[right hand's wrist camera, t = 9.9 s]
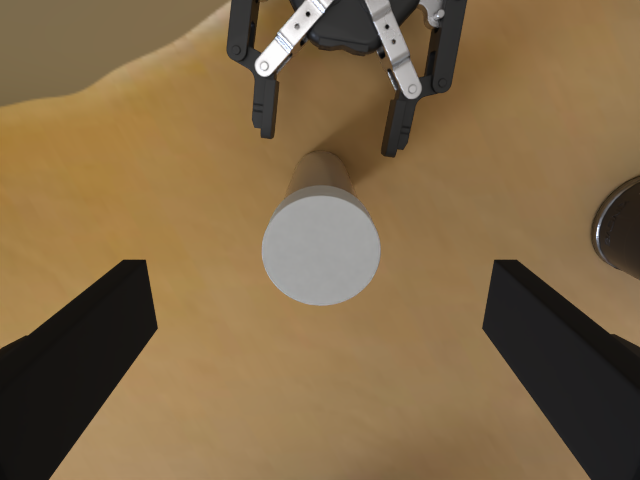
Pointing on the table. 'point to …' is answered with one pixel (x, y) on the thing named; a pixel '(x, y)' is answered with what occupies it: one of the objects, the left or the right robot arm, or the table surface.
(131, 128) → the table surface
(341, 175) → the bottle
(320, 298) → the white cylinder
